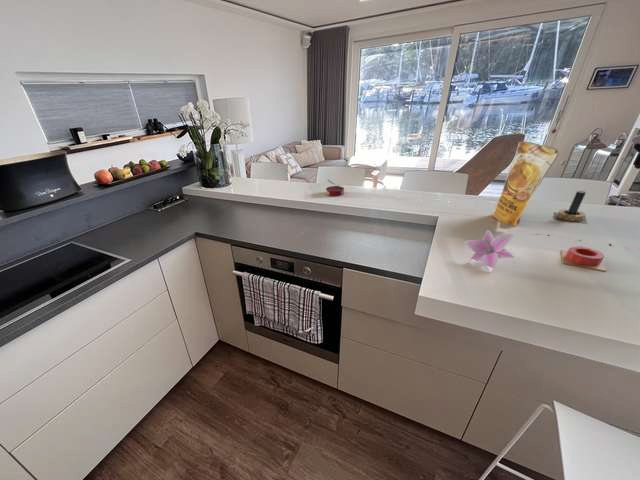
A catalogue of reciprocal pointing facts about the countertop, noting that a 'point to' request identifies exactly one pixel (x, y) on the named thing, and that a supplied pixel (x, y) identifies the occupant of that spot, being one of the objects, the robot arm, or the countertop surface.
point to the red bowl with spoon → (334, 190)
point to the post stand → (574, 207)
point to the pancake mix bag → (523, 180)
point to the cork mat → (599, 267)
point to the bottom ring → (568, 217)
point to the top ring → (584, 256)
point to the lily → (490, 248)
